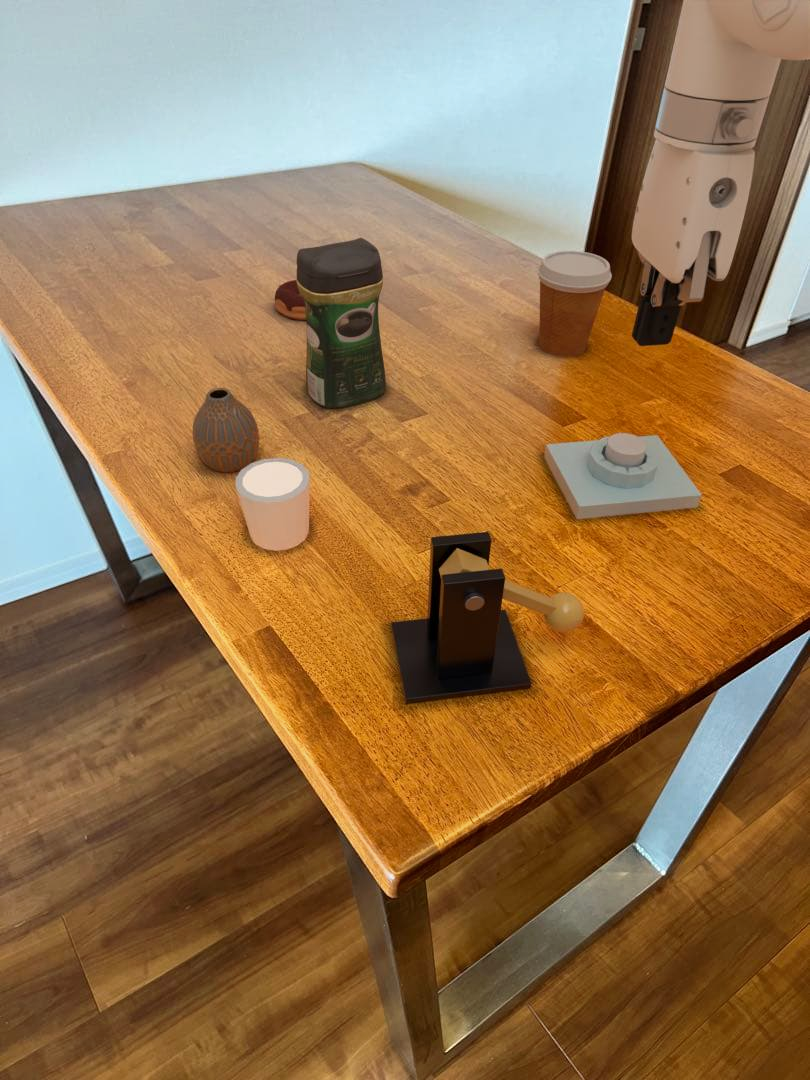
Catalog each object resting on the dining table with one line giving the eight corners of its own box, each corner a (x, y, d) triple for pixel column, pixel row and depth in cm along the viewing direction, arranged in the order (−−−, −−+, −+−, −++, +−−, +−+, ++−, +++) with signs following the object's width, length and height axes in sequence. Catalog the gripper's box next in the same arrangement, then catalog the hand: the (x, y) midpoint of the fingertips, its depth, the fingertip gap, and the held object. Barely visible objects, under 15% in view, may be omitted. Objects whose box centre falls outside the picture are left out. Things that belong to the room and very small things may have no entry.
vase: (267, 445, 83) (257, 377, 78) (256, 482, 78) (245, 411, 72) (207, 444, 83) (192, 376, 78) (192, 481, 78) (176, 410, 72)
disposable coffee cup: (575, 329, 106) (590, 246, 98) (609, 359, 100) (628, 272, 92) (516, 338, 104) (526, 253, 96) (546, 369, 97) (560, 281, 89)
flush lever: (558, 615, 61) (584, 591, 59) (571, 644, 59) (598, 620, 57) (434, 568, 55) (458, 539, 53) (442, 598, 53) (468, 569, 51)
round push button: (634, 445, 78) (638, 431, 77) (649, 466, 75) (653, 452, 74) (598, 448, 77) (601, 434, 76) (612, 470, 74) (615, 456, 73)
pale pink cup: (238, 521, 73) (228, 464, 69) (305, 507, 75) (299, 450, 71) (252, 566, 69) (242, 508, 64) (323, 549, 70) (318, 491, 66)
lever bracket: (503, 618, 64) (519, 515, 56) (529, 692, 58) (551, 588, 50) (391, 631, 63) (390, 527, 55) (405, 708, 57) (407, 604, 49)
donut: (348, 299, 113) (347, 273, 111) (337, 327, 106) (336, 300, 104) (284, 295, 114) (281, 270, 112) (269, 323, 107) (266, 297, 104)
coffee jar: (366, 371, 96) (362, 226, 84) (394, 399, 91) (394, 249, 79) (298, 388, 93) (283, 240, 81) (323, 418, 88) (312, 264, 75)
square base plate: (652, 451, 83) (661, 421, 81) (696, 511, 75) (707, 480, 73) (543, 460, 82) (548, 430, 79) (575, 523, 74) (582, 492, 71)
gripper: (809, 144, 50) (726, 379, 63) (709, 95, 61) (655, 304, 74) (708, 146, 49) (643, 385, 62) (625, 97, 60) (584, 308, 73)
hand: (650, 340), depth 68 cm, fingers closed
